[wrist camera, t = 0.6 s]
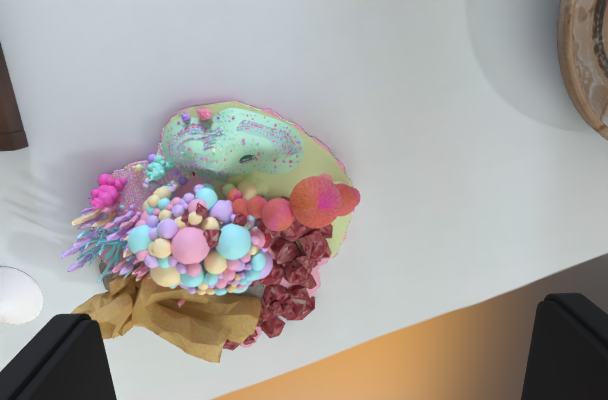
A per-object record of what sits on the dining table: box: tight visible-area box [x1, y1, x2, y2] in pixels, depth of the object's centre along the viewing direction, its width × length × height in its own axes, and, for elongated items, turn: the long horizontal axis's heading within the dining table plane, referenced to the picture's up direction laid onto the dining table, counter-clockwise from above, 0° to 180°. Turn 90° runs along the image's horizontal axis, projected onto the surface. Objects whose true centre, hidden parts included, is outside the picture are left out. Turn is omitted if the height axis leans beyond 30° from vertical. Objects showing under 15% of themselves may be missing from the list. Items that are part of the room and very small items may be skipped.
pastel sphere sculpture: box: [61, 101, 360, 363], centre depth 35 cm, size 25×24×9 cm
